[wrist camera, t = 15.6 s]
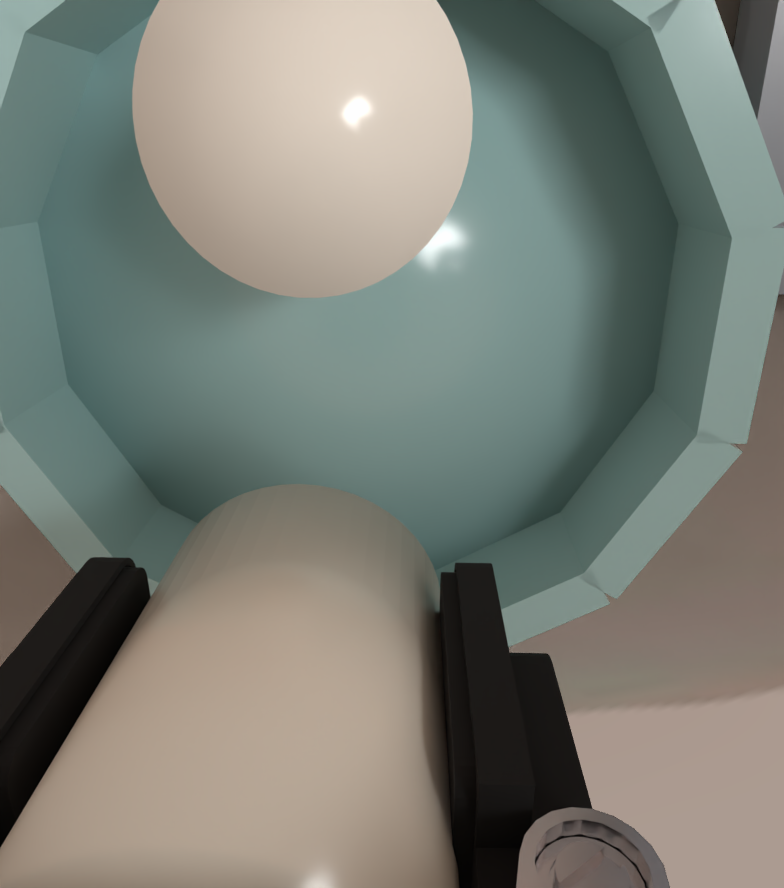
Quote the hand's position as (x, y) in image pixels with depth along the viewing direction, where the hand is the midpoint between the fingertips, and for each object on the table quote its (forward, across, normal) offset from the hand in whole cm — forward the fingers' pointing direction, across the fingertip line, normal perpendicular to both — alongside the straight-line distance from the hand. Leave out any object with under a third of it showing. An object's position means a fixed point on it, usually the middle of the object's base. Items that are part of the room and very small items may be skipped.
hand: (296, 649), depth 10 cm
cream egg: (+7, 0, -7) cm, 10 cm away
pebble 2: (+1, 0, 0) cm, 1 cm away
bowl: (+9, 0, -4) cm, 9 cm away
